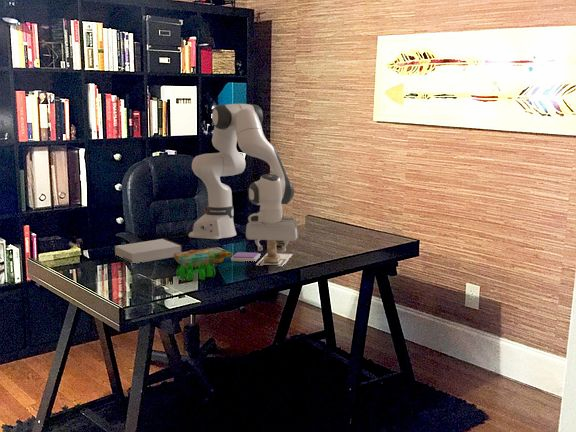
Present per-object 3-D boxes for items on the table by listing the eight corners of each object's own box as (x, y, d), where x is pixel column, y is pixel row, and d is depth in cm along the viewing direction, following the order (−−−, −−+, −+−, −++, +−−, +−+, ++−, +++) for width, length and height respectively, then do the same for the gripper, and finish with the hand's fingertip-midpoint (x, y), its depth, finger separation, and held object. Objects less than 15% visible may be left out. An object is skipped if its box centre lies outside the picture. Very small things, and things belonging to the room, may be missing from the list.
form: (255, 265, 255) (255, 264, 255) (266, 253, 273) (266, 252, 273) (283, 266, 253) (283, 265, 253) (292, 254, 271) (292, 253, 271)
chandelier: (223, 278, 238) (222, 260, 237) (185, 285, 231) (184, 266, 229) (206, 269, 251) (205, 251, 250) (169, 275, 243) (168, 257, 242)
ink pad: (230, 260, 262) (230, 256, 262) (237, 255, 271) (236, 251, 270) (255, 261, 260) (254, 257, 260) (260, 256, 269) (260, 252, 268)
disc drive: (183, 256, 273) (183, 244, 272) (132, 265, 260) (132, 253, 259) (164, 249, 287) (163, 237, 286) (115, 257, 273) (114, 245, 272)
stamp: (263, 263, 257) (263, 237, 255) (266, 260, 261) (265, 235, 259) (277, 263, 256) (277, 238, 254) (280, 260, 260) (279, 235, 258)
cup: (290, 244, 290) (290, 226, 288) (289, 248, 282) (288, 229, 281) (273, 244, 290) (273, 226, 289) (271, 247, 283) (271, 229, 282)
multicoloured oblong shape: (173, 251, 260) (218, 245, 271) (173, 263, 261) (219, 256, 271) (185, 257, 250) (231, 250, 261) (185, 269, 251) (232, 262, 262)
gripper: (299, 215, 256) (299, 249, 259) (248, 214, 260) (249, 248, 263) (295, 218, 250) (296, 253, 253) (244, 217, 254) (245, 251, 257)
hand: (271, 250), depth 258 cm, fingers open, 8 cm apart
